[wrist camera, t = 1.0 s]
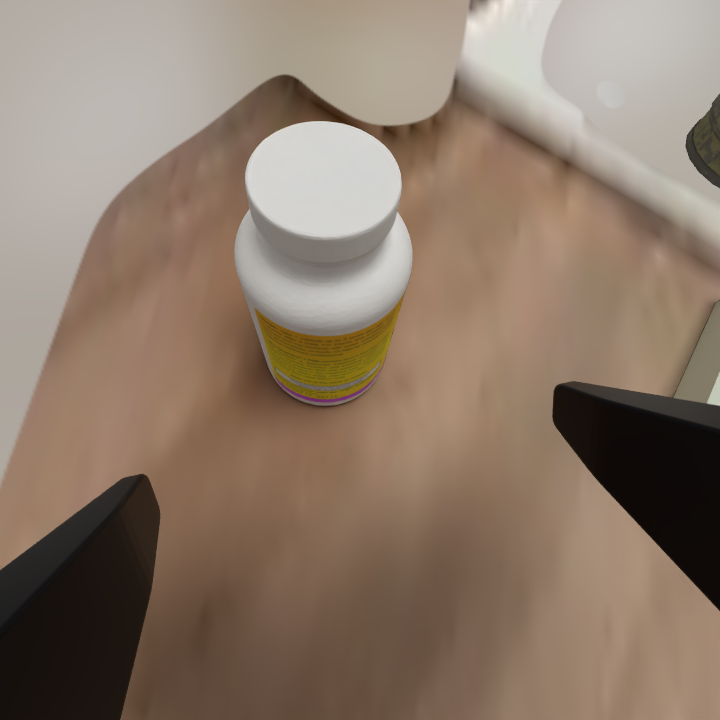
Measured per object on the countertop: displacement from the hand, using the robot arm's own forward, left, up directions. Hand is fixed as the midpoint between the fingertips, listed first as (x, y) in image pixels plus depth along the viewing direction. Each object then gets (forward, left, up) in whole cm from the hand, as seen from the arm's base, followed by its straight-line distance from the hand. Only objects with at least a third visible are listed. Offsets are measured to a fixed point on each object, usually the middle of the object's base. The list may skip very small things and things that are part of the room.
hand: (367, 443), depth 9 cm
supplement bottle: (+6, -6, -13) cm, 16 cm away
